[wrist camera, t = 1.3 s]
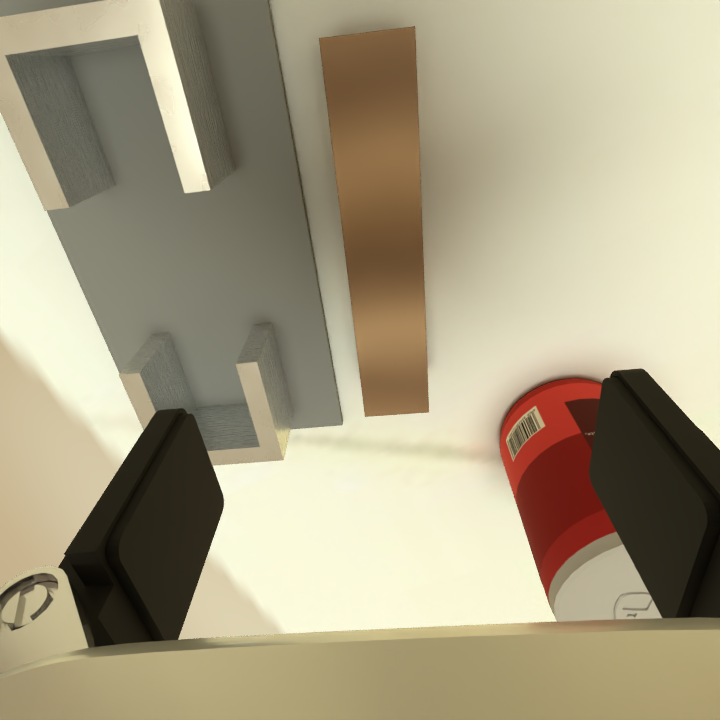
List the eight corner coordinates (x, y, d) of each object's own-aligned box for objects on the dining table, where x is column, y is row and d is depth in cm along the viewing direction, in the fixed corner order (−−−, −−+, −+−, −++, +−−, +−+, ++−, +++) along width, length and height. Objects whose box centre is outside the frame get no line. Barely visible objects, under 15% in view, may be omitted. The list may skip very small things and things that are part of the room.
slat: (328, 42, 20) (319, 38, 16) (407, 32, 19) (414, 26, 16) (365, 373, 28) (364, 416, 25) (421, 369, 28) (428, 412, 24)
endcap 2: (294, 412, 29) (283, 460, 25) (185, 421, 29) (161, 469, 26) (272, 321, 26) (256, 361, 22) (152, 334, 26) (118, 375, 23)
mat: (-39, 4, 19) (-46, 3, 19) (260, -45, 18) (258, -47, 18) (152, 436, 30) (149, 440, 30) (342, 420, 29) (342, 425, 29)
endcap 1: (34, 30, 19) (-40, 23, 16) (196, 5, 19) (157, -8, 15) (95, 187, 22) (45, 210, 19) (236, 170, 22) (210, 190, 18)
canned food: (502, 485, 32) (556, 661, 23) (489, 387, 28) (548, 551, 19) (625, 466, 31) (735, 643, 21) (629, 361, 27) (767, 522, 17)
